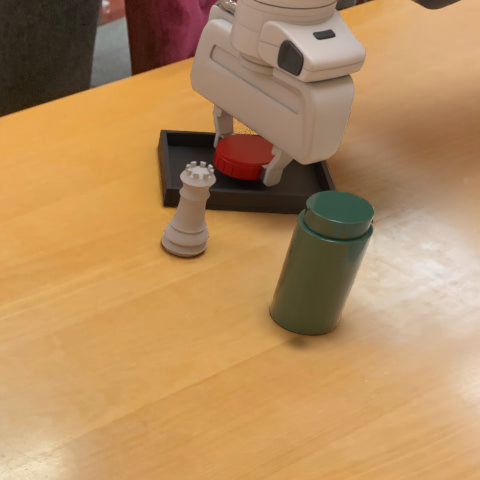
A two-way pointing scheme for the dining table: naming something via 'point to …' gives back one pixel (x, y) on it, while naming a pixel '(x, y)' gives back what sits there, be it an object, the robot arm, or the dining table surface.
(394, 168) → the dining table surface
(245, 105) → the robot arm
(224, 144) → the lid
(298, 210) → the tray
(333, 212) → the jar
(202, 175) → the rook chess piece
